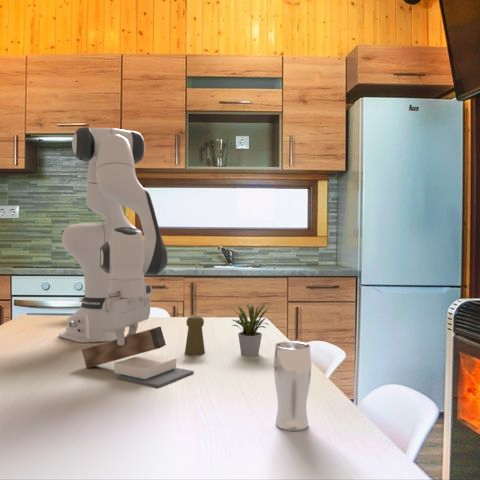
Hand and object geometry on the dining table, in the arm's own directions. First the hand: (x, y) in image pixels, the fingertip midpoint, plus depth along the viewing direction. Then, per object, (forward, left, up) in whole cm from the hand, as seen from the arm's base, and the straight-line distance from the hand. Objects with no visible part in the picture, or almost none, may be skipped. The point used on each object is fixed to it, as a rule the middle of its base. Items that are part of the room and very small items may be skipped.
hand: (126, 342), depth 127 cm
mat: (+10, 0, -7) cm, 12 cm away
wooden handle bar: (0, 0, -4) cm, 4 cm away
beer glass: (+52, -11, -7) cm, 54 cm away
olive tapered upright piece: (+4, +25, -7) cm, 26 cm away
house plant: (+20, +33, -7) cm, 39 cm away
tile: (+2, 0, -5) cm, 5 cm away
